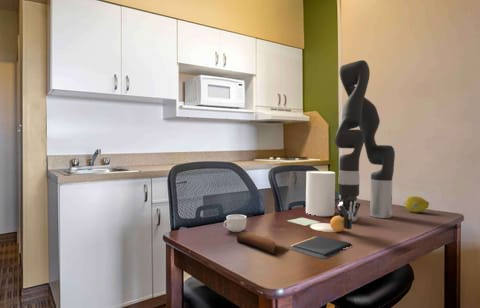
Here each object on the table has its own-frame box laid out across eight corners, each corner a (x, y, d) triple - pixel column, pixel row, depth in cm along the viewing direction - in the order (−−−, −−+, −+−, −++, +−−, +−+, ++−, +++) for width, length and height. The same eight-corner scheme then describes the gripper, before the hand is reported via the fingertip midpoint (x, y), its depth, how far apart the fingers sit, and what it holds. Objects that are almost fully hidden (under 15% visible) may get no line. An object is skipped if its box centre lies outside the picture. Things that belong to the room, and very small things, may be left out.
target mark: (323, 222, 140) (323, 221, 140) (350, 228, 130) (350, 228, 130) (303, 226, 132) (303, 226, 132) (330, 234, 122) (330, 233, 122)
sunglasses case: (293, 250, 103) (286, 234, 101) (279, 265, 100) (272, 249, 97) (254, 237, 117) (247, 222, 115) (241, 250, 113) (233, 236, 111)
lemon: (401, 211, 164) (402, 195, 164) (407, 209, 169) (407, 194, 169) (425, 215, 156) (425, 198, 156) (430, 213, 161) (431, 197, 161)
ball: (348, 231, 127) (335, 224, 131) (350, 217, 125) (337, 211, 129) (339, 236, 123) (326, 229, 127) (341, 222, 121) (328, 215, 125)
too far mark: (302, 217, 148) (302, 217, 148) (320, 222, 140) (320, 221, 140) (287, 221, 142) (287, 220, 142) (304, 225, 134) (304, 225, 134)
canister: (312, 209, 168) (313, 170, 167) (338, 212, 160) (339, 172, 159) (301, 213, 157) (301, 172, 156) (328, 217, 149) (329, 174, 148)
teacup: (237, 226, 131) (238, 213, 131) (250, 231, 125) (250, 217, 125) (217, 231, 125) (217, 217, 125) (229, 235, 119) (230, 220, 119)
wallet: (324, 256, 95) (283, 244, 106) (324, 262, 95) (282, 249, 106) (357, 242, 109) (317, 232, 120) (356, 248, 109) (317, 237, 120)
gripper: (350, 181, 130) (349, 224, 130) (329, 182, 122) (328, 229, 122) (367, 182, 124) (366, 228, 124) (347, 184, 116) (346, 233, 116)
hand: (347, 228), depth 123 cm, fingers closed
